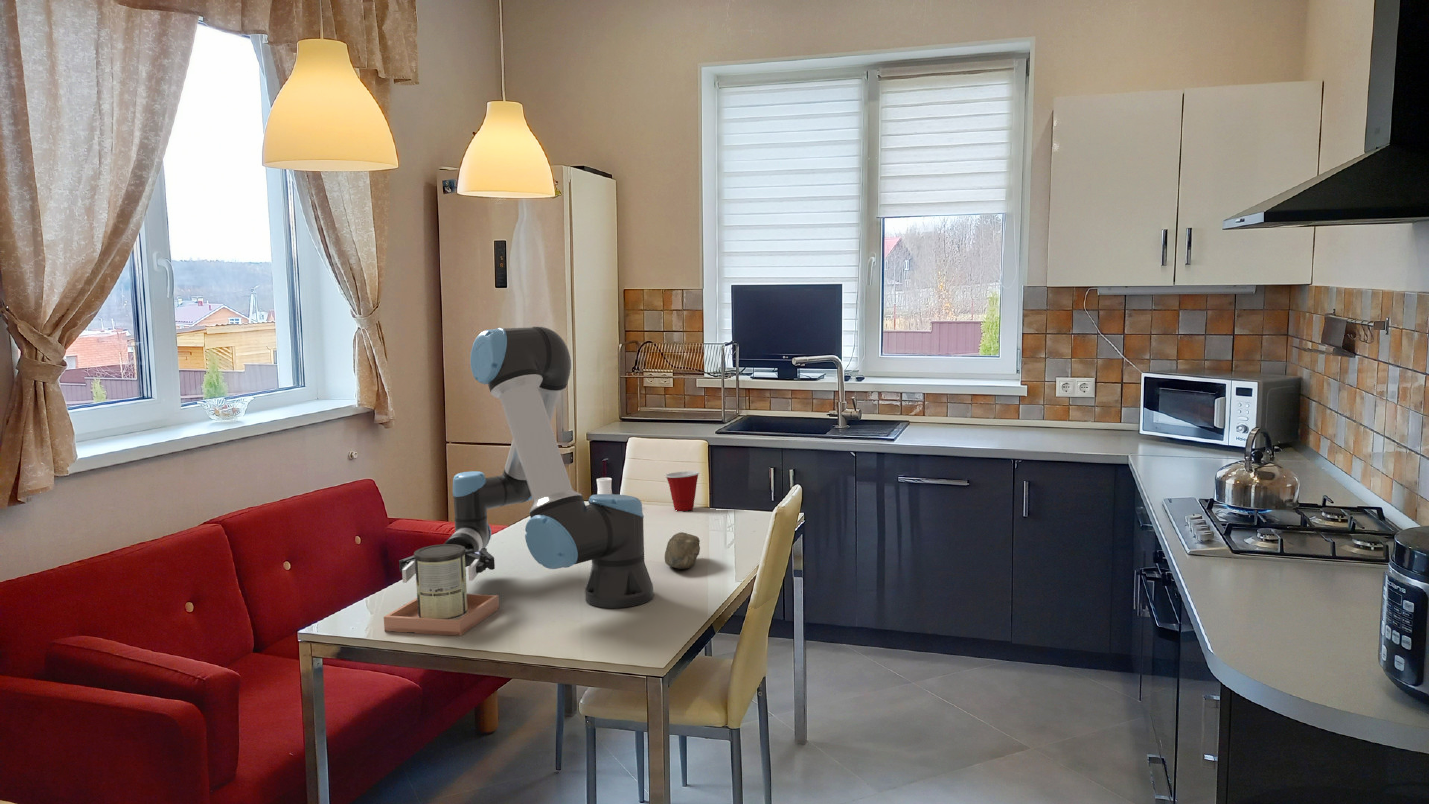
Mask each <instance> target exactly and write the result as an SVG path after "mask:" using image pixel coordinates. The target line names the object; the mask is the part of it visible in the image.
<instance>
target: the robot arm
mask: <svg viewBox="0 0 1429 804" xmlns="http://www.w3.org/2000/svg"><path fill="white" fill-rule="evenodd" d="M571 361H572V360H571V355H570V351H569V348H568V346H567V344H566V342H565V340H564V339H563V338H562V337H561V336H560V335H559V334H558V333H557V332H556V331H554V330H552V329H550V328H549V327H543V326H531V327H529V326H528V327H512V328H511V327H510V328H509V327H508V328H507V327H506V328H503V327H498V328H494V329H485V330H483V331H481V332H480V333H479V334H478V335H477V336H476V338H475V339H474V341H473V344H472V347H471V351H470V359H469V362H470V370H471V373H472V376H473V378H474V379H475V381H477V382H478V383H479V384H482V385H488V389H489V393H490V395H491V396H492V397H494V398H496V399H498V400H500V402H501V406H502V409H503V412H504V416H505V419H506V421H507V425H508V428H509V430H510V433H511V437H512V441H511V443H510V444H511V445H510V448H509V451H508V456H507V459H506V461H505V465H504V468H503V470H502V471H503V472H502V474H500V475H496V476H489V477H486V475H485V473H484V472H482V471H476V470H475V471H463V472H459V473H457V474H455V475H454V476H453V479H452V497H453V499H452V500H453V510H454V530H455V531H454V533H453V534H451V536H450V537H449V538H448V539H447V540H446V541H445V542H444V543H443V544H455V545H461V546H463V547H465V568H468V569H467V570H468V581H474V580H475V578H476V577H477V576H478V574H480V573H483V572H484V571H486V569H488V570H491V571H493V570H495V569H496V566H495V565H496V564H495V556H493V555H492V554H491V553H490V552H488V547H487V546H488V545H489V542H490V540H491V539H492V529H491V526H490V524H489V522H488V510H491V509H496V508H501V507H505V506H510V505H515V504H516V505H517V504H523V503H526V502H530V501H532V502H533V504H532V505H531V507H530V510H529V512H528V513H529V516H530V519H528V521H527V522H526V525H525V529H524V530H525V532H526V533H525V534H524V538H525V543H526V547H527V548H528V551H529V553H530V555H531V556H532V558H533V559H534V560H535V561H536V562H537V563H538V564H539V565H541V566H542V567H544V568H546V569H549V570H557V569H561V568H562V569H563V568H570V567H573V566H574V565H578V564H582V563H585V562H589V561H591V566H590V567H591V568H590V571H589V575H588V578H587V582H586V584H585V585H586V586H585V588H584V600H585V602H586V603H587V604H589V605H592V606H594V607H597V608H598V607H599V608H606V609H607V608H609V609H621V608H630V607H631V608H632V607H634V606H635V607H637V606H640V605H643V604H645V603H648V602H650V601H651V600H653V598H654V585H653V582H652V579H651V576H650V573H649V571H648V568H647V565H646V563H645V562H646V561H645V542H644V541H645V538H644V536H645V535H644V529H645V528H644V517H645V516H644V513H643V503H642V501H641V500H640V499H639V498H638V497H635V496H633V495H628V494H627V495H626V494H614V493H612V494H592V495H590V496H589V498H588V504H587V505H586V503H585V501H584V498H583V495H582V493H580V492H577V491H575V490H574V489H573V487H572V484H571V482H570V477H569V474H568V471H567V469H566V466H565V464H564V460H563V458H562V454H561V451H560V448H559V445H558V442H557V439H556V436H555V433H554V430H553V426H552V424H551V423H552V421H553V420H552V419H553V416H554V413H555V410H556V407H557V404H558V400H559V397H560V394H561V392H563V391H564V390H565V389H567V385H568V383H569V379H570V375H571V366H572V364H571V363H572V362H571ZM398 562H399V572H400V573H401V575H402V576H401V577H402V583H403V584H404V583H406V584H407V583H408V582H409V581H410V580H411V579H412V578H413V577H414V576H416V569H415V557H414V555H411V556H408V557H406V558H403V559H400V560H398Z"/></svg>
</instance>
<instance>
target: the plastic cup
mask: <svg viewBox="0 0 1429 804" xmlns="http://www.w3.org/2000/svg"><path fill="white" fill-rule="evenodd" d="M699 474H700V471H696V470H685V471H684V470H683V471H675V472H670V473H666V474H665V475H664V476H665V478H666V480H667V482H668V485H669V491H670V495H671V500H672V503H673V509H674V511H675V510H677V511H676V512H678V511H688V510H692V511H694V510H693V509H694V506H695V500H696V492H697V483H698V478H699ZM688 512H689V511H688Z"/></svg>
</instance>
